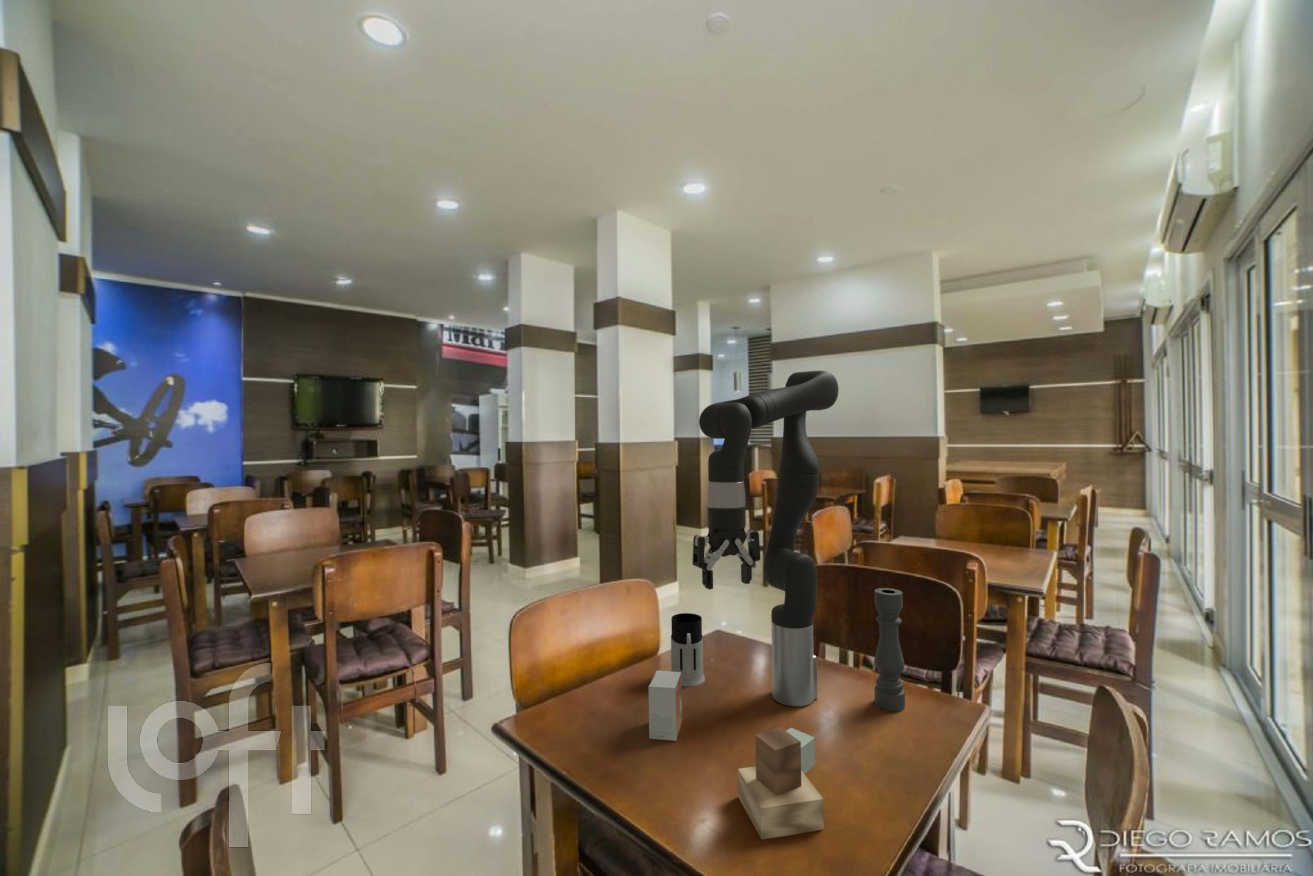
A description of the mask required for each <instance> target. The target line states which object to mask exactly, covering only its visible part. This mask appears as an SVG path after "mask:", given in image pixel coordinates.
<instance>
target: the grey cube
mask: <svg viewBox="0 0 1313 876" xmlns="http://www.w3.org/2000/svg"><path fill="white" fill-rule="evenodd" d="M785 731H786V732H788V733H789V734H791V735H792V736H794V737H795V738H796V739H798V740H799V741H801V770H802V772H803V773H804V774H805V775H806V773H808V772H809V771H810V770H811V769H813V767H815V766H816V737H814V736H813V735H809V734H808V733H805V732H802V731H800V730H797V729H796V728H793V727H789V728H788V729H786V730H785Z"/></svg>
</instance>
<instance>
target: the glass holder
mask: <svg viewBox="0 0 1313 876" xmlns="http://www.w3.org/2000/svg"><path fill="white" fill-rule="evenodd" d="M670 620H671V635H670V656H671V657H670V659H671V660H670V662H671V663H670V664H671V665H670V666H671V667H670V668H671V669H670V671H671V672H681V673H682V687H696V686H699V685H702V684H703V683H704V682H705V681H706V677H705V675H704V649H703V648H704V646H703V645H704V644H703V641H704V639H703V637H704V636H703V626H702V625H703V624H702V623H703V619H702V616H701V615H699V614H696V613H689V612H685V613H684V612H683V613H682V612H681V613H677V614H674V615H672V616H671V619H670Z"/></svg>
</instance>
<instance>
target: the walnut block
mask: <svg viewBox="0 0 1313 876" xmlns="http://www.w3.org/2000/svg"><path fill="white" fill-rule="evenodd" d="M786 731H787V730H785V729H783V728H782V727H780V726H778V727H776V728H773V729H770V730H767V731H763V732H760V733H757V734H755V736H754V739H755V740H754V741H755V766H756V779H758V780H759V781H760V782H761V783H762V784H763V785H764V786H766V787H767V788H768V789H769V790H770V791H771V792H772V793H774V794H775V795H776V796H777V795H780V794H782V793H785V792H788V791H790V790H793V789H795V788H798V787H800V786H801V741H799V740H798V739H796V738H795V737H794V736H792V735H791V734H789V733H788V732H786Z"/></svg>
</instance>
